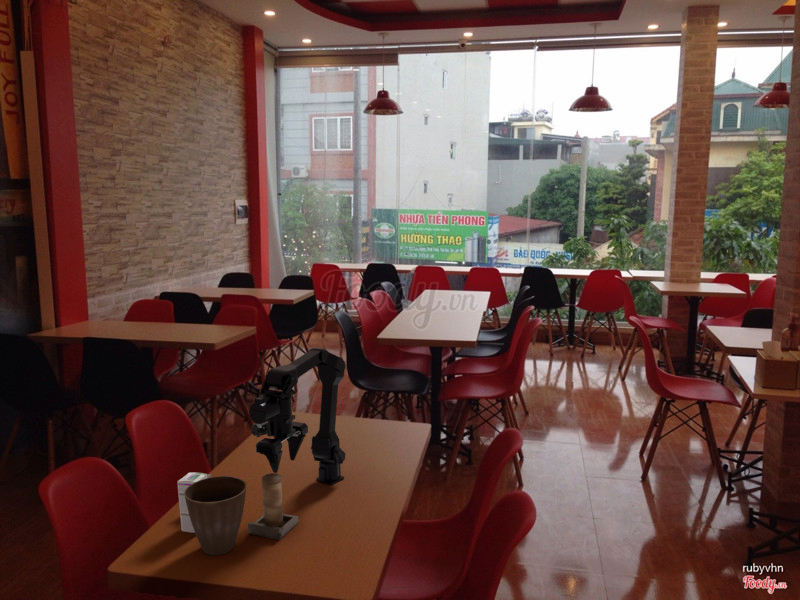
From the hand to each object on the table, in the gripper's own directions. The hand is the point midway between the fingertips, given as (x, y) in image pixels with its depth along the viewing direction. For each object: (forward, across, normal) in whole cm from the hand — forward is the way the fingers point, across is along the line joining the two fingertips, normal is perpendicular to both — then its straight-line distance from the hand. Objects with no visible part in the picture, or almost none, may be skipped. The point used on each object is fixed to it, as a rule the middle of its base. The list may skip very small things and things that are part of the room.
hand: (284, 466), depth 177 cm
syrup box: (+13, +17, -18) cm, 28 cm away
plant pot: (+13, +24, -5) cm, 28 cm away
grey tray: (+13, +10, +3) cm, 17 cm away
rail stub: (+12, +10, +3) cm, 16 cm away
